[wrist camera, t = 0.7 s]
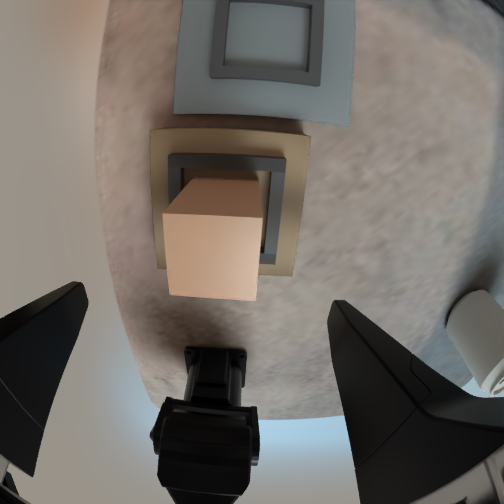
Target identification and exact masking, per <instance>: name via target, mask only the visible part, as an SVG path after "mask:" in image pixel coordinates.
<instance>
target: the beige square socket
mask: <svg viewBox="0 0 504 504" xmlns="http://www.w3.org/2000/svg"><path fill="white" fill-rule="evenodd" d="M310 142H311V136H308V135H306V134H301V133H292V132H282V131H271V130H257V129H240V128H203V127H193V128H161V129H155V130H150V171H151V195H152V211H153V225H154V237H155V247H156V257H157V266H158V268H159V269H167V265H166V255H165V243H164V230H163V214H162V213H163V212H164V211H165V210H166V209H167V207H168V206H169V205H170V204H171V203H172V202H173V200H174V199H175V198H176V197H177V196H178V195H179V193H180V192H181V191H182V190H183V189H184V188H185V187H186V185H187V184H188V183H189V182H190V181H191V180H192V179H193V178H194V176H218V177H239V178H256V179H259V187H260V196H261V205H262V215H263V222H262V234H261V246H260V257H259V268H258V275H272V276H292V275H293V269H294V263H295V256H296V250H297V243H298V237H299V230H300V223H301V216H302V208H303V201H304V193H305V185H306V177H307V169H308V160H309V151H310Z"/></svg>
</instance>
